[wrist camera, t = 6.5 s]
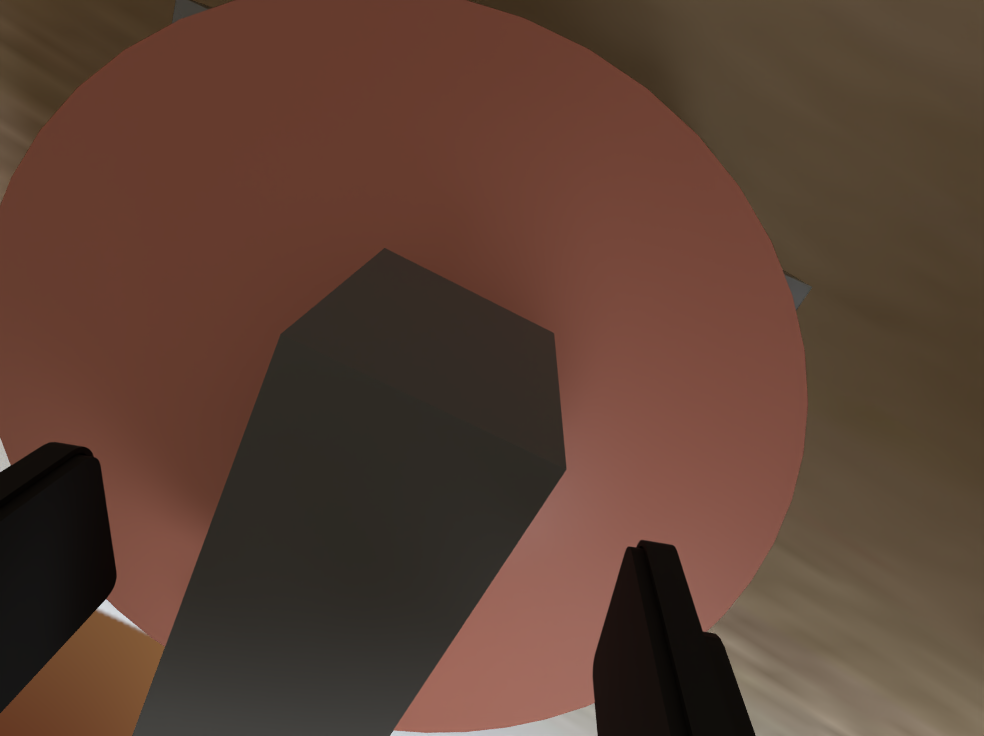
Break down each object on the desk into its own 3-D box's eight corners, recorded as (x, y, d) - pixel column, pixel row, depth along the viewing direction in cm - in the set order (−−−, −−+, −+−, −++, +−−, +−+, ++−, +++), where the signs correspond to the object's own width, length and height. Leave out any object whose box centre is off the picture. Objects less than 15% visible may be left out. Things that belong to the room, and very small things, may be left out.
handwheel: (106, -216, 10) (-870, -990, 3) (971, 279, 12) (1547, 484, 5) (-17, 543, 16) (-394, 830, 10) (544, 768, 18) (549, 1129, 12)
